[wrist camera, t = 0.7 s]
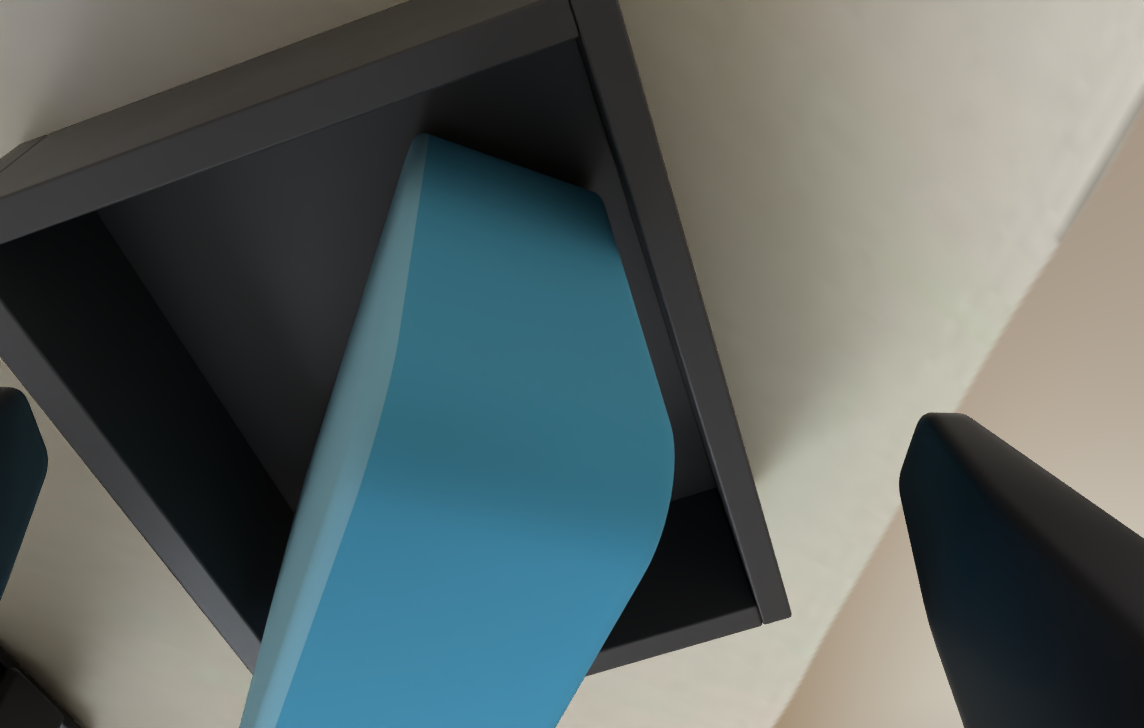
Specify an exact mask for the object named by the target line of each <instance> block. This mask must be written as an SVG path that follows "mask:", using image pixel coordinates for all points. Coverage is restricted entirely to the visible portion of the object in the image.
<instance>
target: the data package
mask: <svg viewBox="0 0 1144 728" xmlns="http://www.w3.org/2000/svg"><path fill="white" fill-rule="evenodd" d="M674 460H675V454H674V440H673V433H672V428H671V424H670V421H669V417H668V414H667V411H666V407H665V404H664V401H663V397H662V394H661V391H660V388H659V384H658V381H657V378H656V374H655V371H654V368H653V364H652V361H651V358H650V354H649V351H648V348H647V344H646V341H645V338H644V334H643V331H642V328H641V324H640V321H639V318H638V315H637V311H636V308H635V305H634V301H633V298H632V295H631V291H630V288H629V285H628V281H627V278H626V275H625V271H624V268H623V265H622V261H621V258H620V255H619V252H618V248H617V245H616V242H615V238H614V235H613V232H612V228H611V225H610V222H609V218H608V215H607V212H606V208H605V205H604V202H603V200H602V198H601V197H600V196H599V195H598V194H597V193H595V192H592V191H590V190H587V189H584V188H581V187H578V186H575V185H573V184H570V183H567V182H564V181H561V180H558V179H556V178H553V177H550V176H547V175H544V174H541V173H538V172H536V171H533V170H530V169H527V168H524V167H521V166H519V165H516V164H513V163H510V162H507V161H504V160H502V159H499V158H496V157H493V156H490V155H487V154H484V153H482V152H479V151H476V150H473V149H470V148H467V147H465V146H462V145H459V144H456V143H453V142H450V141H447V140H445V139H442V138H439V137H436V136H433V135H430V134H427V133H422V134H419V135H417V136H416V137H415V138H414V139H413V141H412V143H411V145H410V148H409V150H408V153H407V156H406V159H405V162H404V165H403V168H402V171H401V174H400V177H399V180H398V184H397V187H396V190H395V193H394V196H393V200H392V203H391V206H390V209H389V212H388V215H387V219H386V222H385V225H384V228H383V231H382V234H381V238H380V241H379V244H378V247H377V250H376V254H375V257H374V260H373V263H372V266H371V269H370V273H369V276H368V279H367V282H366V285H365V289H364V292H363V295H362V298H361V301H360V304H359V308H358V311H357V314H356V317H355V320H354V324H353V327H352V330H351V333H350V336H349V339H348V343H347V346H346V349H345V352H344V355H343V359H342V362H341V365H340V368H339V371H338V374H337V378H336V381H335V384H334V387H333V390H332V393H331V397H330V400H329V403H328V406H327V409H326V413H325V416H324V419H323V422H322V425H321V428H320V432H319V435H318V438H317V441H316V444H315V448H314V451H313V454H312V457H311V460H310V463H309V467H308V470H307V473H306V477H305V480H304V483H303V487H302V490H301V494H300V497H299V501H298V504H297V508H296V511H295V515H294V519H293V522H292V526H291V530H290V534H289V538H288V542H287V545H286V549H285V553H284V557H283V561H282V565H281V569H280V572H279V576H278V580H277V584H276V588H275V592H274V596H273V600H272V603H271V607H270V611H269V615H268V619H267V623H266V627H265V630H264V634H263V638H262V642H261V646H260V650H259V654H258V658H257V661H256V665H255V669H254V673H253V677H252V681H251V685H250V688H249V692H248V696H247V700H246V704H245V708H244V712H243V715H242V719H241V723H240V727H239V728H555V727H556V726H557V724H558V722H559V720H560V719H561V717H562V715H563V714H564V712H565V710H566V708H567V707H568V705H569V703H570V701H571V700H572V698H573V696H574V695H575V693H576V691H577V689H578V688H579V686H580V684H581V682H582V681H583V679H584V677H585V676H586V674H587V672H588V670H589V669H590V667H591V665H592V663H593V662H594V660H595V658H596V657H597V655H598V653H599V651H600V650H601V648H602V646H603V644H604V643H605V641H606V639H607V638H608V636H609V634H610V632H611V631H612V629H613V627H614V625H615V624H616V622H617V620H618V619H619V617H620V615H621V613H622V612H623V610H624V608H625V607H626V605H627V603H628V601H629V600H630V598H631V596H632V594H633V593H634V591H635V589H636V588H637V586H638V584H639V582H640V581H641V579H642V577H643V575H644V574H645V572H646V570H647V568H648V566H649V564H650V562H651V560H652V558H653V555H654V553H655V551H656V548H657V546H658V543H659V540H660V537H661V534H662V531H663V528H664V525H665V521H666V517H667V513H668V509H669V504H670V499H671V493H672V486H673V478H674Z"/></svg>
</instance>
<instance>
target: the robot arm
mask: <svg viewBox="0 0 1144 728" xmlns="http://www.w3.org/2000/svg"><path fill="white" fill-rule="evenodd" d="M47 467H48V456H47V450H46V447H45V444H44V442H43V439H42V436H41V434H40V431H39V428H38V426H37V423H36V420H35V418H34V415H33V413H32V410H31V407H30V405H29V402H28V400H27V398H26V396H25V395H24V394H23V393H22V392H21V391H20V390H18V389H15V388H10V387H0V600H1V598H2V595H3V593H4V590H5V588H6V585H7V582H8V580H9V577H10V574H11V571H12V568H13V566H14V563H15V560H16V557H17V554H18V552H19V549H20V546H21V543H22V541H23V538H24V535H25V532H26V529H27V527H28V524H29V521H30V518H31V515H32V513H33V510H34V507H35V504H36V502H37V499H38V496H39V493H40V490H41V488H42V485H43V482H44V479H45V476H46V473H47ZM899 491H900V497H901V502H902V506H903V511H904V515H905V520H906V524H907V529H908V533H909V538H910V543H911V547H912V552H913V556H914V561H915V565H916V570H917V574H918V579H919V584H920V588H921V593H922V597H923V602H924V606H925V610H926V614H927V618H928V622H929V625H930V628H931V631H932V635H933V638H934V641H935V644H936V647H937V650H938V653H939V656H940V659H941V662H942V664H943V667H944V670H945V673H946V676H947V679H948V682H949V685H950V687H951V690H952V693H953V696H954V699H955V702H956V705H957V707H958V710H959V713H960V716H961V719H962V722H963V725H964V728H1144V538H1142V537H1141V536H1139V535H1138V534H1137V533H1135V532H1134V531H1132V530H1131V529H1129V528H1128V527H1126V526H1125V525H1124V524H1122V523H1121V522H1119V521H1118V520H1117V519H1115V518H1114V517H1112V516H1111V515H1109V514H1108V513H1106V512H1105V511H1104V510H1102V509H1101V508H1099V507H1098V506H1096V505H1095V504H1093V503H1092V502H1091V501H1089V500H1088V499H1086V498H1085V497H1084V496H1082V495H1081V494H1079V493H1078V492H1076V491H1075V490H1073V489H1072V488H1071V487H1069V486H1068V485H1066V484H1065V483H1063V482H1062V481H1060V480H1059V479H1058V478H1056V477H1055V476H1053V475H1052V474H1051V473H1049V472H1048V471H1046V470H1045V469H1043V468H1042V467H1040V466H1039V465H1038V464H1036V463H1035V462H1033V461H1032V460H1031V459H1029V458H1028V457H1026V456H1025V455H1023V454H1022V453H1021V452H1019V451H1018V450H1016V449H1015V448H1013V447H1012V446H1010V445H1009V444H1008V443H1006V442H1005V441H1003V440H1002V439H1000V438H999V437H997V436H996V435H995V434H993V433H992V432H990V431H989V430H987V429H986V428H985V427H983V426H982V425H980V424H979V423H977V422H976V421H975V420H973V419H972V418H970V417H969V416H967V415H964V414H960V413H927V414H925V415H923V416H922V417H921V418H920V420H919V421H918V424H917V426H916V428H915V431H914V434H913V437H912V440H911V443H910V446H909V449H908V452H907V454H906V457H905V460H904V463H903V466H902V469H901V473H900V478H899ZM0 728H81V727H80V726H79V725H78V724H77V723H76V722H75V721H74V720H73V719H72V718H71V717H70V716H69V715H68V714H67V713H66V712H65V711H64V710H63V709H62V708H61V707H60V706H59V705H58V704H57V703H56V702H55V701H54V700H53V699H52V698H51V697H50V696H49V695H48V694H47V693H46V692H45V691H44V690H43V689H42V688H41V687H40V686H39V685H38V684H37V683H36V682H35V681H34V680H33V679H32V678H31V677H30V676H29V675H28V674H27V673H26V672H25V671H24V670H23V669H22V668H21V667H20V666H19V665H18V664H17V663H16V662H15V661H14V660H13V659H12V658H11V657H10V656H9V655H8V654H7V653H6V652H5V651H4V650H3V649H2V648H1V647H0Z"/></svg>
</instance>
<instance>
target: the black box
mask: <svg viewBox="0 0 1144 728" xmlns="http://www.w3.org/2000/svg"><path fill="white" fill-rule="evenodd" d="M422 133H427V134H430V135H433V136H436V137H439V138H442V139H445V140H447V141H450V142H453V143H456V144H459V145H462V146H465V147H467V148H470V149H473V150H476V151H479V152H482V153H484V154H487V155H490V156H493V157H496V158H499V159H502V160H504V161H507V162H510V163H513V164H516V165H519V166H521V167H524V168H527V169H530V170H533V171H536V172H538V173H541V174H544V175H547V176H550V177H553V178H556V179H558V180H561V181H564V182H567V183H570V184H573V185H575V186H578V187H581V188H584V189H587V190H590V191H592V192H595V193H597V194H598V195H599V196H600V197H601V198H602V200H603V202H604V205H605V208H606V212H607V215H608V218H609V222H610V225H611V228H612V232H613V235H614V238H615V242H616V245H617V248H618V252H619V255H620V258H621V261H622V265H623V268H624V271H625V275H626V278H627V281H628V285H629V288H630V291H631V295H632V298H633V301H634V305H635V308H636V311H637V315H638V318H639V321H640V324H641V328H642V331H643V334H644V338H645V341H646V344H647V348H648V351H649V354H650V358H651V361H652V364H653V368H654V371H655V374H656V378H657V381H658V384H659V388H660V391H661V394H662V397H663V401H664V404H665V407H666V411H667V414H668V417H669V421H670V424H671V428H672V433H673V440H674V454H675V460H674V478H673V486H672V493H671V499H670V504H669V509H668V513H667V517H666V521H665V525H664V528H663V531H662V534H661V537H660V540H659V543H658V546H657V548H656V551H655V553H654V555H653V558H652V560H651V562H650V564H649V566H648V568H647V570H646V572H645V574H644V575H643V577H642V579H641V581H640V582H639V584H638V586H637V588H636V589H635V591H634V593H633V594H632V596H631V598H630V600H629V601H628V603H627V605H626V607H625V608H624V610H623V612H622V613H621V615H620V617H619V619H618V620H617V622H616V624H615V625H614V627H613V629H612V631H611V632H610V634H609V636H608V638H607V639H606V641H605V643H604V644H603V646H602V648H601V650H600V651H599V653H598V655H597V657H596V658H595V660H594V662H593V663H592V665H591V667H590V669H589V670H588V672H587V674H586V676H588V675H592V674H595V673H599V672H602V671H606V670H609V669H613V668H616V667H620V666H623V665H627V664H630V663H634V662H637V661H641V660H644V659H647V658H651V657H654V656H658V655H661V654H665V653H668V652H672V651H675V650H679V649H682V648H686V647H689V646H693V645H696V644H699V643H703V642H706V641H710V640H713V639H717V638H720V637H724V636H727V635H731V634H734V633H738V632H741V631H745V630H748V629H751V628H755V627H758V626H761V625H762V622H763V623H764V624H769V623H772V622H775V621H779V620H782V619H786V618H789V617H791V614H792V613H791V610H790V606H789V603H788V599H787V596H786V592H785V588H784V585H783V581H782V578H781V574H780V571H779V567H778V564H777V560H776V557H775V553H774V550H773V546H772V543H771V539H770V535H769V532H768V528H767V525H766V521H765V518H764V514H763V511H762V507H761V504H760V500H759V497H758V493H757V490H756V486H755V482H754V479H753V475H752V472H751V468H750V465H749V461H748V458H747V454H746V451H745V447H744V444H743V440H742V437H741V433H740V429H739V426H738V422H737V419H736V415H735V412H734V408H733V405H732V401H731V398H730V394H729V391H728V387H727V383H726V380H725V376H724V373H723V369H722V366H721V362H720V359H719V355H718V352H717V348H716V345H715V341H714V338H713V334H712V330H711V327H710V323H709V320H708V316H707V313H706V309H705V306H704V302H703V299H702V295H701V292H700V288H699V285H698V281H697V277H696V274H695V270H694V267H693V263H692V260H691V256H690V253H689V249H688V246H687V242H686V239H685V235H684V231H683V228H682V224H681V221H680V217H679V214H678V210H677V207H676V203H675V200H674V196H673V193H672V189H671V186H670V182H669V178H668V175H667V171H666V168H665V164H664V161H663V157H662V154H661V150H660V147H659V143H658V140H657V136H656V133H655V129H654V125H653V122H652V118H651V115H650V111H649V108H648V104H647V101H646V97H645V94H644V90H643V87H642V83H641V79H640V76H639V72H638V69H637V65H636V62H635V58H634V55H633V51H632V48H631V44H630V41H629V37H628V34H627V30H626V26H625V23H624V19H623V16H622V12H621V9H620V5H619V2H618V0H410V1H407V2H405V3H402V4H399V5H396V6H394V7H391V8H388V9H386V10H383V11H380V12H378V13H375V14H372V15H369V16H367V17H364V18H361V19H359V20H356V21H353V22H350V23H348V24H345V25H342V26H340V27H337V28H334V29H331V30H329V31H326V32H323V33H321V34H318V35H315V36H313V37H310V38H307V39H304V40H302V41H299V42H296V43H294V44H291V45H288V46H285V47H283V48H280V49H277V50H275V51H272V52H269V53H267V54H264V55H261V56H258V57H256V58H253V59H250V60H248V61H245V62H242V63H239V64H237V65H234V66H231V67H229V68H226V69H223V70H221V71H218V72H215V73H212V74H210V75H207V76H204V77H202V78H199V79H196V80H193V81H191V82H188V83H185V84H183V85H180V86H177V87H174V88H172V89H169V90H166V91H164V92H161V93H158V94H156V95H153V96H150V97H147V98H145V99H142V100H139V101H137V102H134V103H131V104H128V105H126V106H123V107H120V108H118V109H115V110H112V111H110V112H107V113H104V114H101V115H99V116H96V117H93V118H91V119H88V120H85V121H82V122H80V123H77V124H74V125H72V126H69V127H66V128H64V129H61V130H58V131H55V132H53V133H50V134H49V135H45V136H42V137H39V138H36V139H34V140H31V141H28V142H26V143H23V144H20V145H18V146H17V147H16V148H14V149H13V150H12V151H10V152H9V153H8V154H6V155H5V156H4V157H2V158H1V159H0V357H1V358H2V359H3V361H4V362H5V363H6V364H7V366H8V367H9V368H10V370H11V371H12V372H13V373H14V375H15V376H16V377H17V378H18V380H19V381H20V382H21V383H22V385H23V386H24V387H25V388H26V390H27V391H28V392H29V393H30V395H31V396H32V397H33V399H34V400H35V401H36V402H37V404H38V405H39V406H40V407H41V409H42V410H43V411H44V412H45V414H46V415H47V416H48V417H49V419H50V420H51V421H52V422H53V424H54V425H55V426H56V427H57V429H58V430H59V431H60V433H61V434H62V435H63V436H64V438H65V439H66V440H67V441H68V443H69V444H70V445H71V446H72V448H73V449H74V450H75V451H76V453H77V454H78V455H79V456H80V458H81V459H82V460H83V462H84V463H85V464H86V465H87V467H88V468H89V469H90V470H91V472H92V473H93V474H94V475H95V477H96V478H97V479H98V480H99V482H100V483H101V484H102V485H103V487H104V488H105V489H106V490H107V492H108V493H109V494H110V496H111V497H112V498H113V499H114V501H115V502H116V503H117V504H118V506H119V507H120V508H121V509H122V511H123V512H124V513H125V514H126V516H127V517H128V518H129V519H130V521H131V522H132V523H133V525H134V526H135V527H136V528H137V530H138V531H139V532H140V533H141V535H142V536H143V537H144V538H145V540H146V541H147V542H148V543H149V545H150V546H151V547H152V548H153V550H154V551H155V552H156V554H157V555H158V556H159V557H160V559H161V560H162V561H163V562H164V564H165V565H166V566H167V567H168V569H169V570H170V571H171V572H172V574H173V575H174V576H175V577H176V579H177V580H178V581H179V582H180V584H181V585H182V586H183V588H184V589H185V590H186V591H187V593H188V594H189V595H190V596H191V598H192V599H193V600H194V601H195V603H196V604H197V605H198V606H199V608H200V609H201V610H202V611H203V613H204V614H205V615H206V617H207V618H208V619H209V620H210V622H211V623H212V624H213V625H214V627H215V628H216V629H217V630H218V632H219V633H220V634H221V635H222V637H223V638H224V639H225V640H226V642H227V643H228V644H229V645H230V647H231V648H232V649H233V651H234V652H235V653H236V654H237V656H238V657H239V658H240V659H241V661H242V662H243V663H244V664H245V666H246V667H247V668H248V669H249V671H250V672H251V673H252V674H253V673H254V669H255V665H256V661H257V658H258V654H259V650H260V646H261V642H262V638H263V634H264V630H265V627H266V623H267V619H268V615H269V611H270V607H271V603H272V600H273V596H274V592H275V588H276V584H277V580H278V576H279V572H280V569H281V565H282V561H283V557H284V553H285V549H286V545H287V542H288V538H289V534H290V530H291V526H292V522H293V519H294V515H295V511H296V508H297V504H298V501H299V497H300V494H301V490H302V487H303V483H304V480H305V477H306V473H307V470H308V467H309V463H310V460H311V457H312V454H313V451H314V448H315V444H316V441H317V438H318V435H319V432H320V428H321V425H322V422H323V419H324V416H325V413H326V409H327V406H328V403H329V400H330V397H331V393H332V390H333V387H334V384H335V381H336V378H337V374H338V371H339V368H340V365H341V362H342V359H343V355H344V352H345V349H346V346H347V343H348V339H349V336H350V333H351V330H352V327H353V324H354V320H355V317H356V314H357V311H358V308H359V304H360V301H361V298H362V295H363V292H364V289H365V285H366V282H367V279H368V276H369V273H370V269H371V266H372V263H373V260H374V257H375V254H376V250H377V247H378V244H379V241H380V238H381V234H382V231H383V228H384V225H385V222H386V219H387V215H388V212H389V209H390V206H391V203H392V200H393V196H394V193H395V190H396V187H397V184H398V180H399V177H400V174H401V171H402V168H403V165H404V162H405V159H406V156H407V153H408V150H409V148H410V145H411V143H412V141H413V139H414V138H415V137H416V136H417V135H419V134H422Z"/></svg>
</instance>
